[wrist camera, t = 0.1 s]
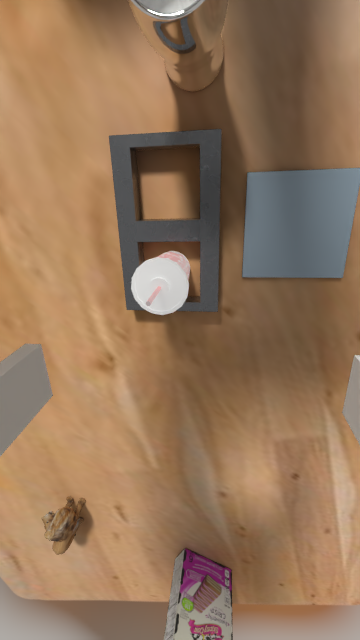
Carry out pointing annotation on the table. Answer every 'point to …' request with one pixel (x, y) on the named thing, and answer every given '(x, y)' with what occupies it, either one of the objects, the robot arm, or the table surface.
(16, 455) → the table surface
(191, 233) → the dark grey slotted frame
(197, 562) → the candy bar box
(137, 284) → the beverage cup
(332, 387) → the table surface
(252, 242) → the slate mat
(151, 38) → the silver metal tumbler
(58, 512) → the lion figurine
